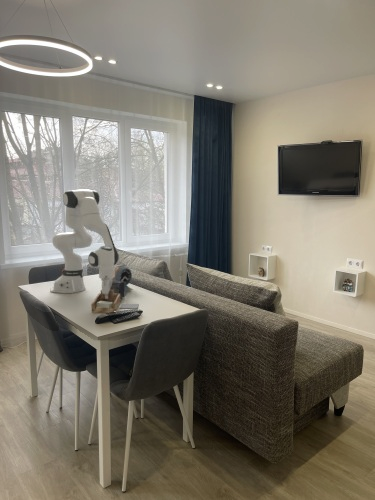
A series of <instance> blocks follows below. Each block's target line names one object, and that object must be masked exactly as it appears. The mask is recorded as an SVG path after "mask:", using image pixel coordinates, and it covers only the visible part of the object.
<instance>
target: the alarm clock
mask: <svg viewBox="0 0 375 500" xmlns="http://www.w3.org/2000/svg"><path fill="white" fill-rule="evenodd" d="M114 268H115V277H114V278H113V280H116V281H124V293H127V292H131V291H133V290H134V289H133V288H132V287H130V286H129V284H130V283H131V281H132V278H133V275H132V273H133V272H132V271H131V269H130V268H129V267H128V266H127V265H125V264H119V265H117V266H116V267H114Z"/></svg>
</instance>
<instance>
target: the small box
mask: <svg viewBox="0 0 375 500" xmlns="http://www.w3.org/2000/svg"><path fill="white" fill-rule="evenodd" d="M110 290H114V294H120V300H121V299H123V298H125V292H124V281H116V280H112V286H111V288H110Z"/></svg>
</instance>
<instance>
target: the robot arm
mask: <svg viewBox="0 0 375 500" xmlns="http://www.w3.org/2000/svg"><path fill="white" fill-rule="evenodd" d="M62 196H63V197H62V203H63V204H64V206H65V220H64V221H65V222H64V223H65V225H66V226H67V228H70V229H72V230H73V231H71V232H70V231H69V232H59V233H57V234H55V235H54V236H53V237H52V241H51V242H52V245H53V247H54V248H55V249H56V250H58V251H59V252H60V253H61V254H62V256H63V260H64V268H63V269H62V271H61V276H59V277H58V278H57V279H55V281H54V283H53V286H52V287H51V288H50V289H49V291H50V292H51V293H60V294H61V293H62V294H75V293H78V292H83V291H85V290H86V285H85V282H84V268H83V257H82V256H81V255H80V254H78V253H75V252H74V250H75V249H85V248H89V247H91V245H92V244H93V236H92V235H91V233H90V232H93V233H96V234H98V235H100V237H101V238H102V240H103V243H104V245H103V246H102V245H101V246H100V247H99V248H98V249H95V250H92V251H90V253H88V257H87V258H88V263H89V264H90V266H91V267H95V268H97V267H98V278H99V279H101V290H102V294H105V299H108V293H109V291H110V288H111V286H112V280H113V278H114V277H115V268H116V267H115V266H116V264H118V262H119V260H120V254H119V252H118V250H117V249H116V246H115V243H114V240H113V238H112V235H111V231H110V229H109V226H108V225H107V223H105V222H104V221H103V219H102V216H101V212H100V208H99V203H100V194H99V192H98V191H97V190H94V189H75V190H74V189H73V190H72V189H71V190H66V191H65V192H64V193H63V195H62ZM86 229H87V230H88V231H90V232H88V231H87V230H86Z"/></svg>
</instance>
